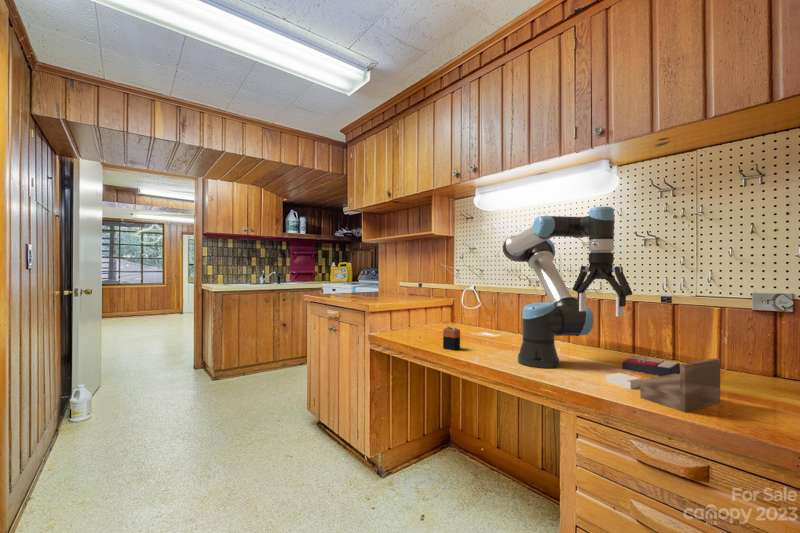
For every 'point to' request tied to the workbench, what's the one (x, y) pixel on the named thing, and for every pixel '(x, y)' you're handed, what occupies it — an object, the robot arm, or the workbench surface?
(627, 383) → the tile
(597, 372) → the workbench surface
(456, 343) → the battery
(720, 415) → the workbench surface
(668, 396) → the brown wooden l-shaped block
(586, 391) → the workbench surface
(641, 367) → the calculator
